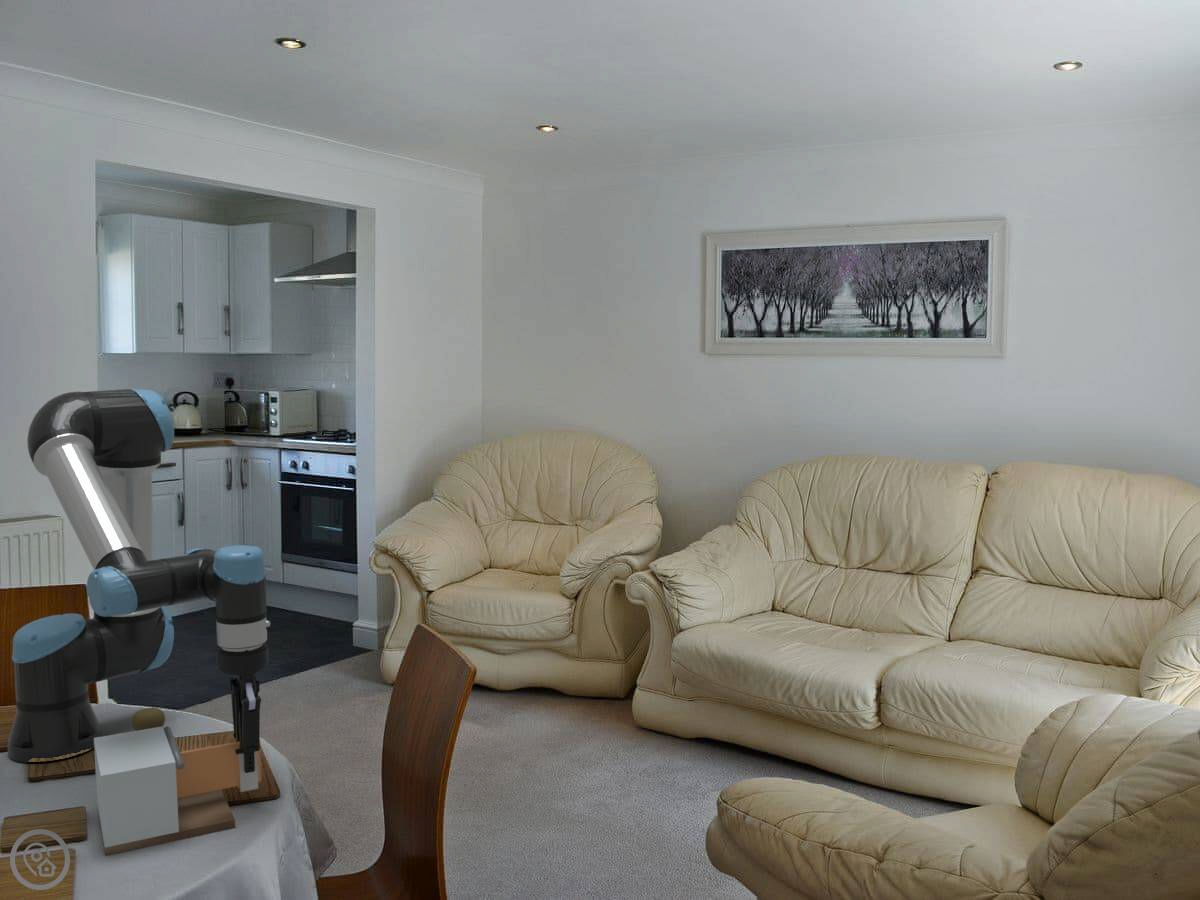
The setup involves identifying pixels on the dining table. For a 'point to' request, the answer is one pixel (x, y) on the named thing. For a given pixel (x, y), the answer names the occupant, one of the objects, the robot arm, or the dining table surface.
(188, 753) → the orange rectangular panel
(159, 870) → the dining table surface
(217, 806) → the walnut board
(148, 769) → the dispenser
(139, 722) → the olive brown ellipsoid
